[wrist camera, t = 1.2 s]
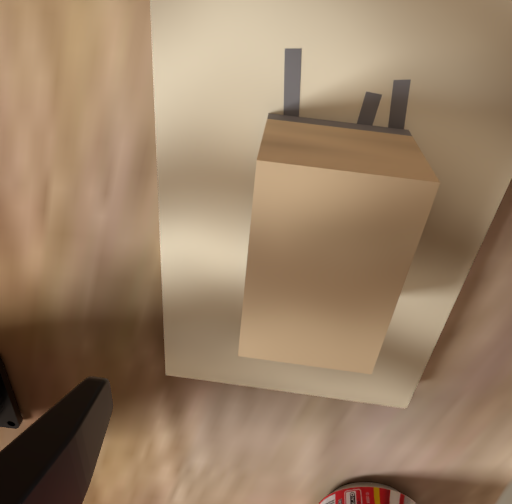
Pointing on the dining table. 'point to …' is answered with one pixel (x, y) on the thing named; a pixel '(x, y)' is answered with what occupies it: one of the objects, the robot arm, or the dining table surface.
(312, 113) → the board
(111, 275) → the dining table surface
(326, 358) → the block
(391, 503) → the soda can
